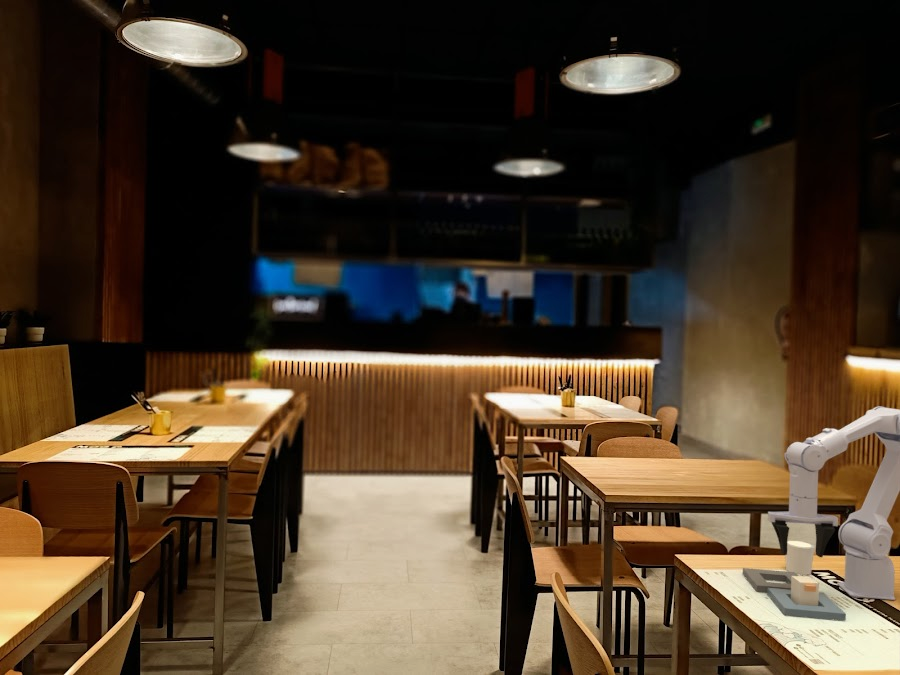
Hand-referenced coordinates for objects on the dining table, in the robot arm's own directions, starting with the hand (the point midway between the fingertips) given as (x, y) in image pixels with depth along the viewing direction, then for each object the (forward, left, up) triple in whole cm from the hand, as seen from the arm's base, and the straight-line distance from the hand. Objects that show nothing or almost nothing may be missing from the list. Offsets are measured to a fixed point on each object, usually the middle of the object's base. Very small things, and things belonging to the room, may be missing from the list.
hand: (801, 554), depth 156 cm
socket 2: (+1, +7, -9) cm, 12 cm away
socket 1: (+3, -6, -9) cm, 11 cm away
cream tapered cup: (-6, -18, -10) cm, 21 cm away
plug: (+2, +7, -9) cm, 12 cm away
